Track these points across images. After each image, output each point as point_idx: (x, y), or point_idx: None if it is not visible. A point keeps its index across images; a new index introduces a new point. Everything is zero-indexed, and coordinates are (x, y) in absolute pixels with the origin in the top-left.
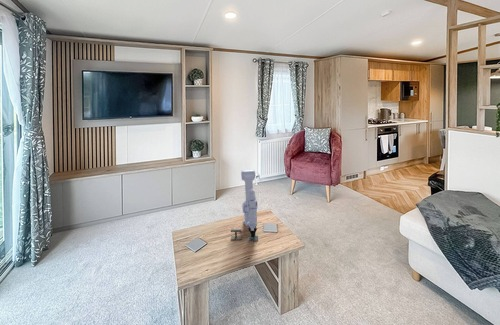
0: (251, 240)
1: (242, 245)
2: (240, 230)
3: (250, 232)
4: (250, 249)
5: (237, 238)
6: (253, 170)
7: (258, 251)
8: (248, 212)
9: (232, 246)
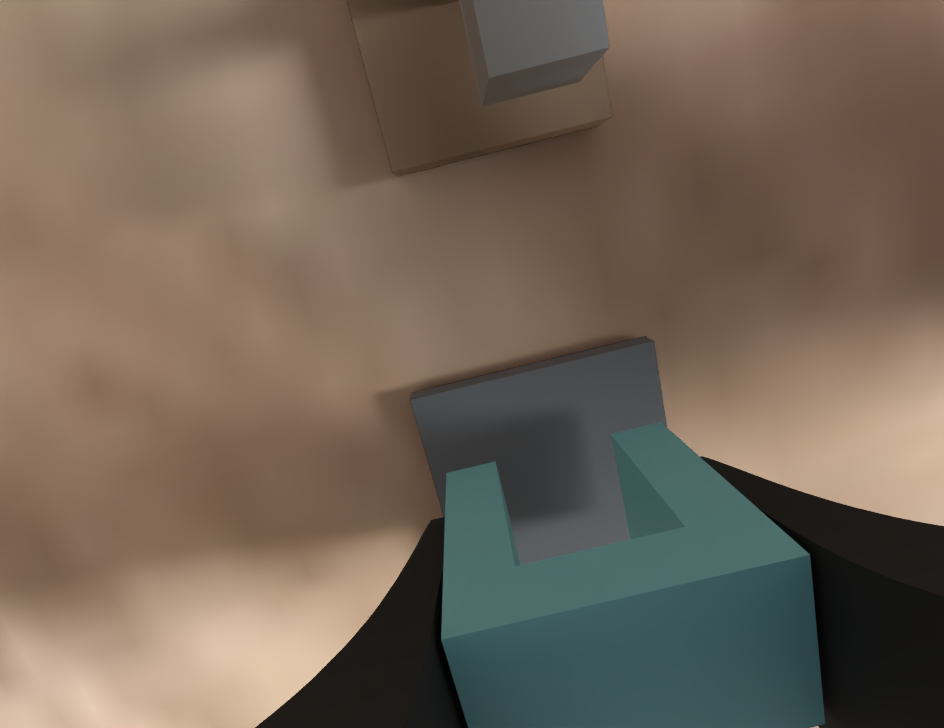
0: (430, 469)
1: (190, 299)
2: (482, 69)
3: (338, 669)
4: (106, 528)
5: (396, 47)
6: None
7: (108, 687)
8: None
9: (29, 30)
